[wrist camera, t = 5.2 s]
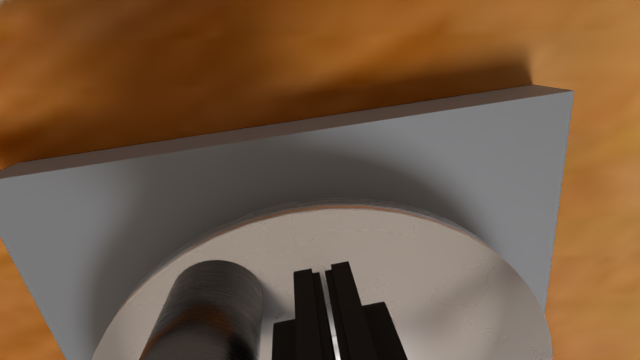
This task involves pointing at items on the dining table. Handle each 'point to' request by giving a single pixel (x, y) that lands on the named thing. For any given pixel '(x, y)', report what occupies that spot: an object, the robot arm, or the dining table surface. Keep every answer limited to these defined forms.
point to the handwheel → (319, 253)
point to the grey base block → (282, 192)
